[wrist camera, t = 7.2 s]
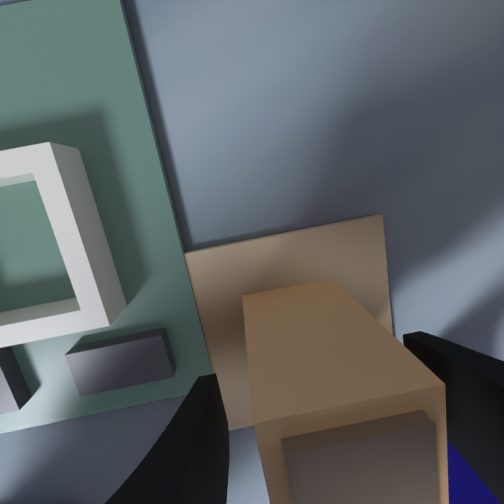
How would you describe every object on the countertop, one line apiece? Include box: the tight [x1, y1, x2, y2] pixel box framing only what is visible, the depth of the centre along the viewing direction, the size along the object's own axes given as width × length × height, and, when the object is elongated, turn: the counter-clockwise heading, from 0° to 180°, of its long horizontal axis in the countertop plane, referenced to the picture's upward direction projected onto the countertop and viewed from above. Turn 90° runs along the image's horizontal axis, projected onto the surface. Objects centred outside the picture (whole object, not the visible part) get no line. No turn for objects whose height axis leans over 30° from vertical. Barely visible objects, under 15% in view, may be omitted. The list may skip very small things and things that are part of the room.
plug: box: [242, 278, 449, 504], centre depth 10 cm, size 4×4×7 cm
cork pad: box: [183, 214, 393, 431], centre depth 13 cm, size 9×9×1 cm
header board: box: [0, 0, 213, 434], centre depth 11 cm, size 16×12×2 cm
